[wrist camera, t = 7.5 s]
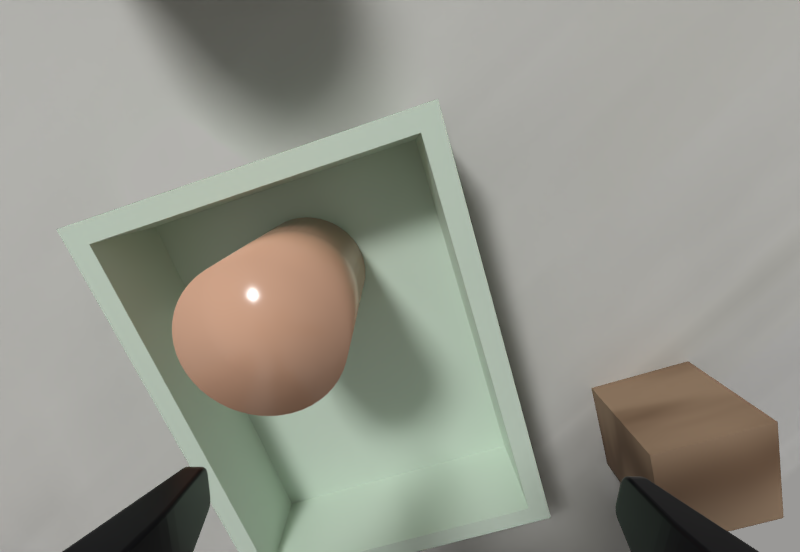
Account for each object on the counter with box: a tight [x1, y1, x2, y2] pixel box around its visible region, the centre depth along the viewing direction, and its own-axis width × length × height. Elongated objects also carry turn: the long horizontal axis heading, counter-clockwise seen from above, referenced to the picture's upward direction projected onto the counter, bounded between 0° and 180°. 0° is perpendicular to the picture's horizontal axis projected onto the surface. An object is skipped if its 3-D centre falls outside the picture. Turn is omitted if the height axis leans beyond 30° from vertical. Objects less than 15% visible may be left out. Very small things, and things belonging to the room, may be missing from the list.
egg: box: [172, 217, 366, 416], centre depth 15 cm, size 5×5×7 cm
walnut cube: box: [592, 362, 783, 531], centre depth 19 cm, size 5×5×5 cm
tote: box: [56, 99, 551, 552], centre depth 17 cm, size 18×14×4 cm
